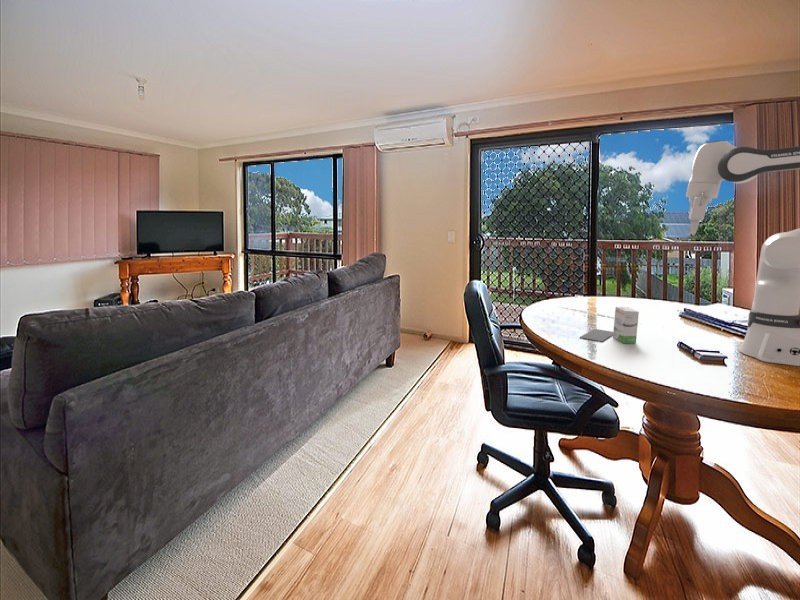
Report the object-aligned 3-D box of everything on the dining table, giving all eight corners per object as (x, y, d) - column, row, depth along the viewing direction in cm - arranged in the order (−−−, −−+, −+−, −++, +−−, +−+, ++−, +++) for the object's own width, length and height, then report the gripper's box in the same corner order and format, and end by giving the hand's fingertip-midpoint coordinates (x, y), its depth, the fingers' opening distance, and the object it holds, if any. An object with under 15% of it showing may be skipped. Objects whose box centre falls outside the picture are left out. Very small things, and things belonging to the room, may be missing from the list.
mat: (616, 333, 160) (616, 332, 160) (602, 342, 148) (602, 341, 148) (594, 329, 165) (594, 328, 165) (579, 338, 154) (579, 337, 154)
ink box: (636, 343, 146) (640, 311, 144) (622, 343, 147) (625, 311, 144) (625, 337, 155) (628, 306, 152) (612, 336, 155) (614, 306, 153)
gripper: (716, 191, 128) (704, 236, 132) (711, 194, 145) (701, 233, 149) (691, 190, 132) (681, 233, 135) (690, 193, 148) (680, 231, 152)
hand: (692, 233), depth 142 cm, fingers open, 8 cm apart
